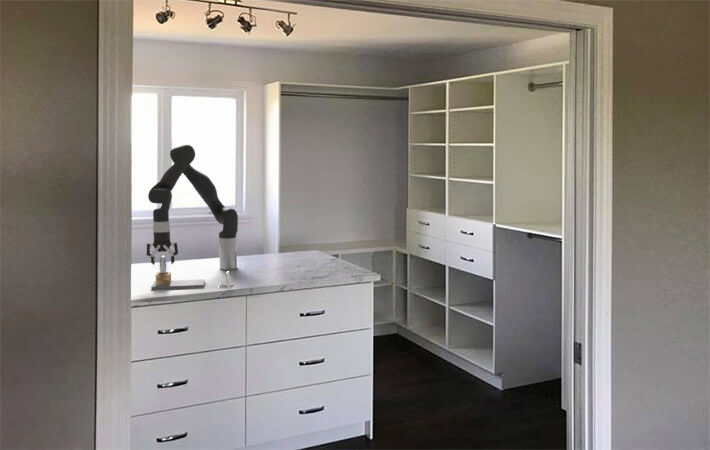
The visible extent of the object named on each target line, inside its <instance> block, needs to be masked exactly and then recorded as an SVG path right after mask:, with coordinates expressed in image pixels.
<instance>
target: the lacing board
mask: <svg viewBox="0 0 710 450" xmlns="http://www.w3.org/2000/svg"><path fill="white" fill-rule="evenodd" d="M205 285H206V279H203V278H202V279H179V280H178V279H175V280H171V284H170V285H156V280H154V282H153V284H152V285H151V287H150V289H151V291H158V290H159V291H161V290H164V291H165V290H186V289H188V290H189V289H204V288H205Z"/></svg>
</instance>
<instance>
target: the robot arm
mask: <svg viewBox="0 0 710 450" xmlns="http://www.w3.org/2000/svg"><path fill="white" fill-rule="evenodd" d="M169 157H170V159H171V161H172V163H173V164H172V165H171V166H170V167H169V168H168V169H167V170H166V171H165V172H164V174H163V175H162V176H161V178H160V180H159V181H158V182H157V183H156V184H155V185H153V187H151V188H150V190H149V191H148V195H147V196H148V200H149V202H150V203H152V204H161V206H160V207H158V208H155V209H153V210H152V211H153V212H152V217H153V218H152V220H153V225H152V230H153V234H152V235H153V243H152V242H147V244H146V257H147V256H148V257H150V263H151V264H152V265H153V266H154V265H155V264H156V261H155V254H156V253H157V252H158V253H161V252H163V253H166V252H167V253H168V254H169V255H170V263H171V265H173V264H174V263H175V256H177V255H178V254H179V250H178V249H179V248H178V241H175V242H174V241H173V242H171V231H170V229H171V228H170V227H171V226H170V215H169V211H170V208H171V207H170V206H171V202H172V199H173V196H172V192H171V191H173V189H174V187H175V186H176V184H177V182H178V180H179V179H180V177H181V176H182V174H183V175H184V176H185V178H186V179H187V180H188V182H190V184H191V185H192V187H193V188H194V190H195V191H196V192H197V194H198V195H199V196H200V198H201V199H202V201H203V202H204V203H205V205H207V207H208V208H209V210H210V212H211V214H212V215H213V217H214V218H215V221H217V222H218V223H219V224H221V225H222V230H221V231H219V233H218V243H219V245H218V249H219V250H218V251H219V252H218V253H219V269H220V270H224V271H225V270H226V271H231V270H238V256H237V255H238V253H237V252H238V251H237V234H238V228H239V227H238V225H239V218H238V217H239V215H238V212H237V210H235V209H234V208H230V207H226V206H225V205H224V204H223V203H222V202H221V200H220V199H219V197H218V191H217V188H216V186H215V184H214V183H213V181H212V180H211V179H210V177H208V175H206V174H204V173H203V172H201V171H199V170H197V169H196V168H195V167H193V166H192V165H191V163H192V162H194V160H195V158H196V151H195V148H194V147H193V146H192V145H190V144H182V145H179V146H177V147H174V148H172V149H171V150H170V152H169ZM152 247H153V248H154V250H153V252H152V253H151V248H152ZM170 247H173V248H174V252H173V250H172V249H171V248H170Z"/></svg>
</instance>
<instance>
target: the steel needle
mask: <svg viewBox="0 0 710 450" xmlns="http://www.w3.org/2000/svg"><path fill="white" fill-rule="evenodd" d="M159 272H160V275H161V274H166V272H167V258H166V256H164V255H161V256H160V257H159Z"/></svg>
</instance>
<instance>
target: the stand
mask: <svg viewBox="0 0 710 450" xmlns="http://www.w3.org/2000/svg"><path fill="white" fill-rule="evenodd" d="M230 281H231V280H230V270H226V284H219V285H216V288H217V289H227V287H230V288H234V287H233V286H235V285H234V284H231V283H230Z"/></svg>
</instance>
